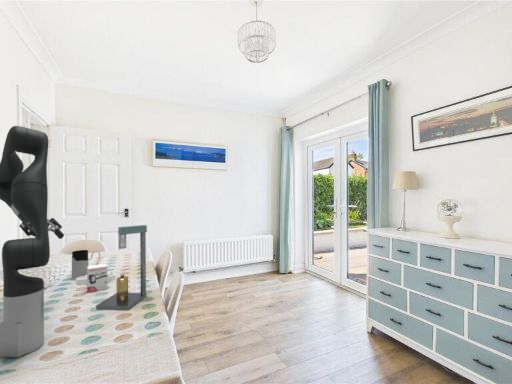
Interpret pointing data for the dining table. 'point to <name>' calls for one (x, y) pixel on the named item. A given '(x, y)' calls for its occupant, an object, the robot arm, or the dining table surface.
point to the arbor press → (137, 297)
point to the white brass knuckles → (83, 279)
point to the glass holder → (80, 263)
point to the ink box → (97, 278)
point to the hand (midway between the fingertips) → (53, 239)
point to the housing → (122, 288)
